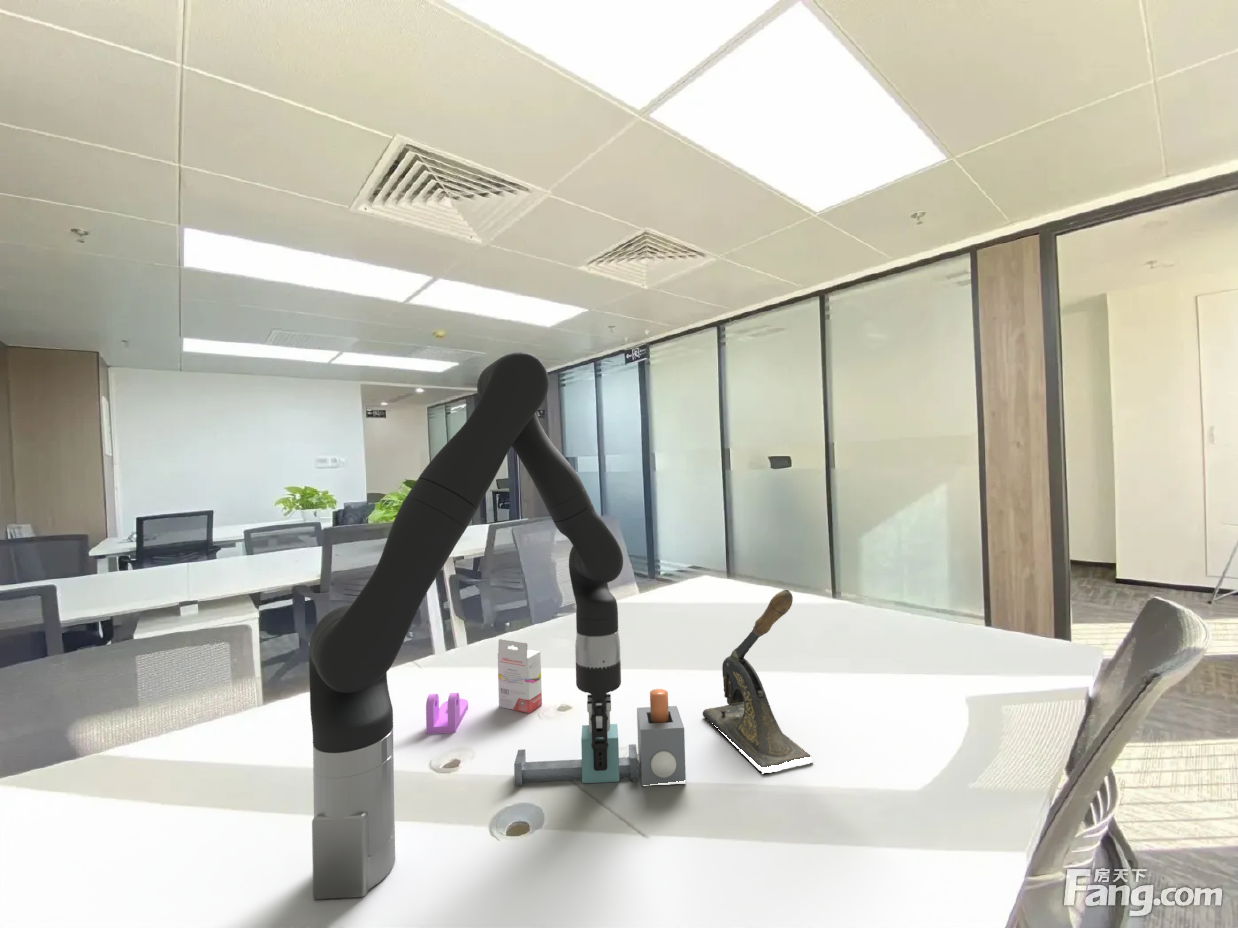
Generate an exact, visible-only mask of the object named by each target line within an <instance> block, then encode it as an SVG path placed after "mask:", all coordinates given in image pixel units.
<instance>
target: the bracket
mask: <svg viewBox="0 0 1238 928" xmlns="http://www.w3.org/2000/svg"><path fill="white" fill-rule="evenodd" d="M439 698H440V697H439V694H438V693H429V694H428V695H427V698H426V703H425V717H426V718H425V720H426V721H425V723H426V727H425V728H426V731H425V732H426V734H427V735H428V734H429V735H431V734H433V735H434V734H447V733H449V734H450V733H451V734H452V733H453V734H454V733H456V732H457V730H458V728H459V727H460V724H461V722H462V721H463V719H464V717H465V715H466V714H467V712H468V710H469V701H468V700H467V699H464V698H460V694H459V692H451V693H449V695H448V699H447V701H444V702H443V703H442V704H441V705H440V700H439ZM466 711H467V712H466ZM465 713H466V714H465Z"/></svg>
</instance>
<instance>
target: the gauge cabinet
mask: <svg viewBox="0 0 1238 928" xmlns="http://www.w3.org/2000/svg"><path fill="white" fill-rule="evenodd" d="M636 716H637V717H636V719H637V757H638V759H639V760H638V767H639V766H640V767H639V774H640V773H641V774H640V781H641V780H642V782H641V786H642V785H650V784H658V783H668V782H676V781H678V782H679V781H684V780H686V781H687V779H686V778H687V777H686V775H687V774H686V773H687V772H686V749H685V747H686V746H685V745H686V744H685V741H686V739H685V727H684V724H683V721H682V718H681V714H680V711H679V708H678V707H677V705H670V706H669V705H668V716H669V720H668V721H667V722H665V723H654V722H652V721H651V712H650V706H648V707H647V706H646V707H645V706H644V707H636Z"/></svg>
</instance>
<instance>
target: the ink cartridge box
mask: <svg viewBox="0 0 1238 928" xmlns="http://www.w3.org/2000/svg"><path fill="white" fill-rule="evenodd" d="M497 646H498V647H497V648H498V649H497V671H498V672H497V677H498V678H497V679H498V681H497V682H498V707H499V708H504V709H508V710H513V711H517V712H521V713H525V714H530V713H532V712H533V711H535V710H537V709H538V708H540V707H541V706H543V697H542V696H543V695H542V693H543V692H542V689H543V688H542V663H541V651H538V650H532V649H528V648H529V647H528V643H527V642H521V641H515V640H509V639H503V638H499V639H498V645H497Z"/></svg>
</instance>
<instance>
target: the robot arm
mask: <svg viewBox="0 0 1238 928" xmlns="http://www.w3.org/2000/svg"><path fill="white" fill-rule="evenodd" d="M549 380H550V379H549V374H548V370H547V368H546V366H545V364H544V363H543V361H542V360H541V359H539V357H537V356H536V355H534V354H532V353H530V352H529V353H528V352H512V353H509V354H505V355H503V356H501V357H499V358H498V359H497V360H495V361H494V362H492V363H490V364H489V365H488V366H487V367H486V368H484V369H483V370H482V371H481V373H480V375H479V377H478V380H477V385H476V388H477V389H476V390H477V391H476V392H477V395H478V399H479V400H478V402H477V404H476V406H475V408H474V409H473V411H472V412H471V414H470V416H469V418H468V419H467V420H466V422H465V423H464V424H463V425H462V426H461V428H460V429H459V430H458V431H457V432H456V433H455V434H453V436H452V437H451V438H450V439H449V440H448V441H447V442H446V444H444V446H443V447H442V448H441V449H440V450H439V451H438V453H436V454H435V456H434V457H433V458H432V459H431V461H430V462H429V463H428V464H427V466H426V467H425V468H424V469H423V471H422V472H421V473H420V475H419V476H418V478H417V480H416V481H415V482H414V484H413V486H412V488H411V489H410V490H409V492H408V493H407V495H406V497H405V498H404V500H403V501H402V503H401V506H400V507H399V509H398V511H397V513H396V515H395V517H394V520H393V522H392V524H391V527H390V529H389V533H388V535H387V539H386V542H385V543H384V547H383V550H382V553H381V556H380V558H379V561H378V563H377V564H376V565H377V566H376V567H375V569H374V571H373V572H372V575H371V576H370V578H369V579H368V581H367V582H366V584H365V586H364V587H363V588H362V590H361V591H360V593H359V594H358V595H357V596H356V598H355V600H353V602H352V603H351V604H350V605H349V604H348V605H343V606H340V607H337V608H335V609H333V610H332V611H330V612H328V613H326V615H324V616H323V617H322V618H321V619H320V620H319V621H318V623H317V624H316V625H315V627H314V629H313V631H312V633H311V637H310V640H309V644H308V645H309V648H308V666H309V667H308V671H309V672H308V674H309V706H310V720H311V730H312V760H313V761H312V762H313V763H312V764H313V767H312V768H313V769H312V770H313V771H312V773H313V774H312V779H313V780H312V781H313V819H312V821H311V844H312V845H311V847H312V848H311V850H312V851H311V852H312V855H311V856H312V858H311V859H312V899H313V900H328V899H346V898H362V897H363V898H364V897H365V896H366V895H367V893H368V892H369V891H370V889H372V888H373V887H375V886H376V885H377V884H379V883H380V882H382V881H383V880H384V879H385V878H386V877H387V876H388V875H389V873H391V871H392V869H393V868H394V865H395V863H396V829H395V828H396V826H395V825H396V824H395V820H396V819H395V771H394V767H395V766H394V763H395V762H394V760H395V759H394V710H393V703H392V700H391V697H390V691H389V685H388V674H387V673H388V671H389V670H390V669H391V667H392V666H393V664H394V662H395V660H396V658H397V656H398V654H399V652H400V650H401V648H402V646H403V643H404V641H405V639H406V637H407V634H408V633H409V630H410V628H411V626H412V623H413V622H414V620H415V617H416V615H417V612H418V610H419V609H420V606H421V605H422V602H423V601H424V599H425V596H426V595H427V593H428V591H429V590H430V588H431V586H432V584H433V583H434V582H435V580H436V579H437V577H438V576H439V573H440V572H441V571H442V569H443V568H444V566H445V564H446V562H447V561H448V559H449V558H450V556H451V555H452V552H453V551H454V548H455V547H456V545H457V544H458V543H459V541H460V539H461V538H462V536H463V534H464V533H465V531H466V530H467V528H468V526H469V525H470V523H471V521H472V520H473V517H474V516H475V515H476V513H477V511H478V509H479V507H480V505H481V503H482V501H483V500H484V498H485V496H486V494H487V492H488V491H489V489H490V487H491V485H492V483H493V481H494V479H495V478H496V477H497V474H498V472H499V470H500V468H501V467H502V465H503V463H504V461H505V458H506V457H507V455H508V453H509V451H510V449H511V448H512V449H513V451H514V452H515V454H516V455H517V457H518V459H519V460H520V462H521V463H522V465H523V466H524V468H525V469H526V472H527V473H528V475H529V477H530V479H531V480H532V482H533V484H534V486H535V488H536V490H537V491H538V494H539V496H540V498H541V500H542V501H543V505H544V506H545V507H546V510H547V512H548V514H549V516H550V518H551V520H552V522H553V523H554V525H555V527H556V529H557V530H558V531H559V532H560V533H561V534H562V535H563V536H565V537H566V538H567V539H568V540H569V541H570V543H571V545H572V547H571V549H570V552H569V556H568V557H569V558H568V571H569V577H570V582H571V588H572V593H573V596H574V597H573V598H574V601H575V606H576V608H575V615H576V616H575V618H576V619H575V620H576V621H575V623H576V625H575V627H576V628H575V629H576V636H575V645H574V647H575V649H574V650H575V685H576V688H577V689H578V690H579V691H581V692H583V693H587V701H586V707H587V708H586V711H587V713H588V725H589V730H590V732H592V744H591V747H592V750H593V759H594V770H595V771H604V770H606V769H607V749H608V746H609V745H608V741H607V732H608V731H609V730H610V724H611V714H610V713H611V711H612V698H611V694H612V693H610V692H614V691H616V690H618V689H619V687H620V686H621V683H622V668H621V666H622V663H621V661H622V660H621V641H620V640H621V639H620V634H619V611H618V609H619V608H618V601H617V599H616V597H615V596H614V595H613V593H611V592H610V589H609V585H608V583H610V582H614V581H615V580H616V579H617V578H618V577H619V576H620V575H621V573H622V571H623V568H624V567H623V566H624V557H623V555H624V554H623V552H622V549H621V547H620V544H619V543H618V541H617V539H616V538H615V536H614V535H613V533H612V531H611V530H610V529H609V526H607V525H606V523H605V521H604V520H603V519H602V517H600V516H599V514H598V513H597V511H596V510H595V507H594V504H593V502H592V500H591V498H590V497H589V494H588V492H587V489H586V488H585V486H584V483H583V481H582V480H581V478H580V476H579V475H578V473H577V471H576V470H575V469H574V467H573V466H572V464H570V462H569V461H568V460H567V459H566V457H565V456H564V455H563V454H562V453H561V452H560V450H559V449H558V448H557V447H556V445H554V443H553V442H552V441H551V439H550V438H549V437H548V435H547V433H546V431H545V430H544V428H543V426H542V425H541V422H540V419H539V418H538V416H537V411H538V410H539V409H540V408H541V406H542V405H543V403H544V401H545V400H546V397H547V395H548V391H549V386H550V385H549V384H550V381H549ZM599 737H603V738H604V739H605V740H604V739H596V740H595V738H599Z"/></svg>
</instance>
